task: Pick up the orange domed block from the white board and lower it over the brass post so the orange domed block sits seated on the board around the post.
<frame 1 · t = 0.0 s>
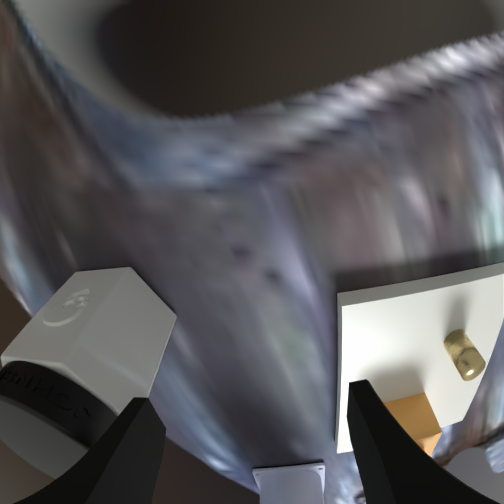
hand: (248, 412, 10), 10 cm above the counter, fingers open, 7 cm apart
jar: (120, 315, 21), on the counter
white board: (417, 369, 23), on the counter
orange domed block: (393, 416, 23), point 1 cm above the counter, touching white board
post: (454, 339, 20), resting on white board
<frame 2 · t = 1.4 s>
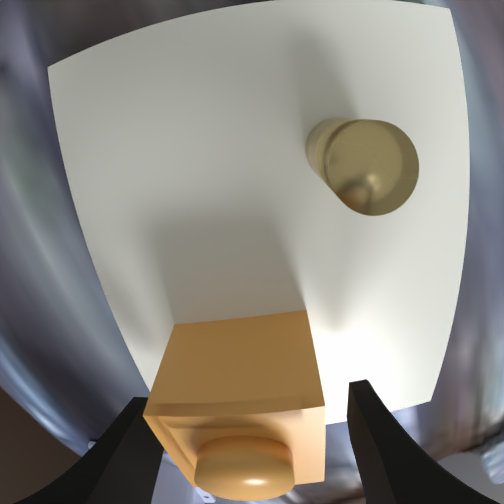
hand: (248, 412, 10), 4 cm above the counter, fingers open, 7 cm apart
white board: (285, 257, 12), on the counter
orange domed block: (249, 366, 13), point 1 cm above the counter, touching white board
post: (337, 149, 9), resting on white board
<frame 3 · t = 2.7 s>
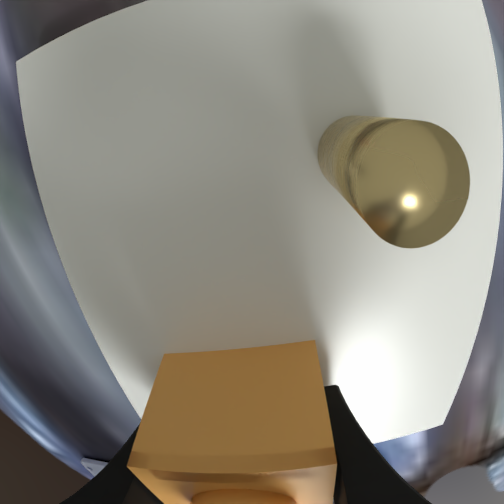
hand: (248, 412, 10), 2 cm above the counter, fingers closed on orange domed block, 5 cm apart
white board: (291, 278, 11), on the counter
orange domed block: (249, 397, 11), point 2 cm above the counter, touching gripper, white board
post: (356, 154, 7), resting on white board
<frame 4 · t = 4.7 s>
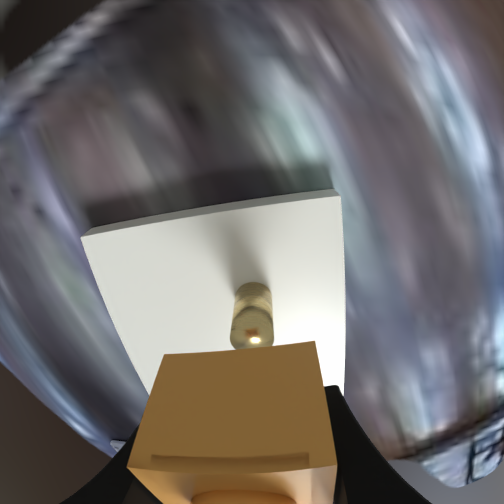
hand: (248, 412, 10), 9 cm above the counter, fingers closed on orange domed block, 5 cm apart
white board: (233, 340, 21), on the counter
orange domed block: (249, 398, 11), point 9 cm above the counter, touching gripper
post: (253, 298, 17), resting on white board
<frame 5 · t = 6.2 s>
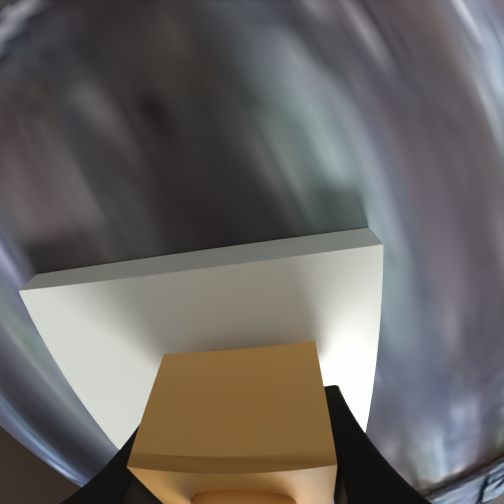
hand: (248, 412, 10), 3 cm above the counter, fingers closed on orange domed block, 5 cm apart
white board: (225, 411, 15), on the counter
orange domed block: (249, 398, 11), point 3 cm above the counter, touching gripper
when the fingers open (3 cm above the counter, at t = 7.2 s): orange domed block drops 1 cm, resting on white board.
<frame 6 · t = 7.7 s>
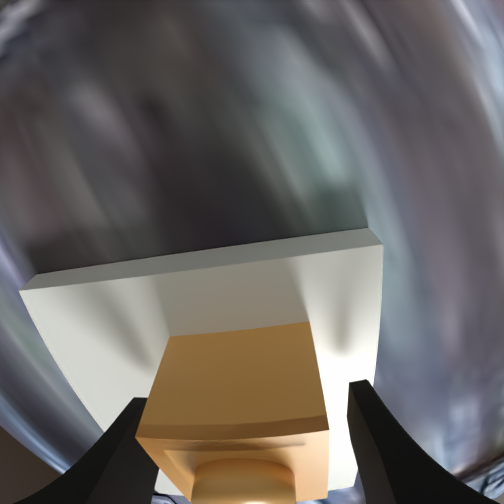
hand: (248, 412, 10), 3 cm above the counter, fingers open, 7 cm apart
white board: (225, 411, 15), on the counter
orange domed block: (249, 379, 12), point 1 cm above the counter, touching white board
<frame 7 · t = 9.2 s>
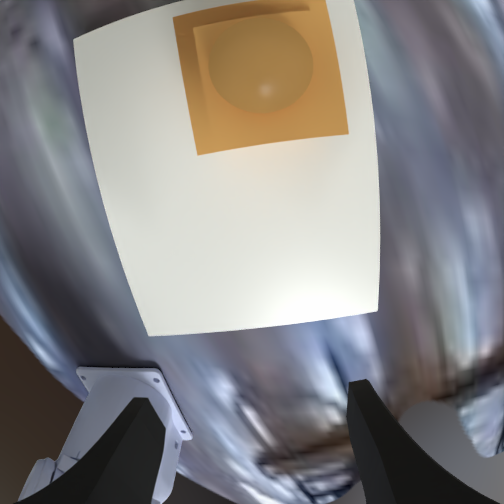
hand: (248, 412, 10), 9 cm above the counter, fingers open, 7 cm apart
white board: (234, 166, 16), on the counter
orange domed block: (261, 82, 13), point 1 cm above the counter, touching white board
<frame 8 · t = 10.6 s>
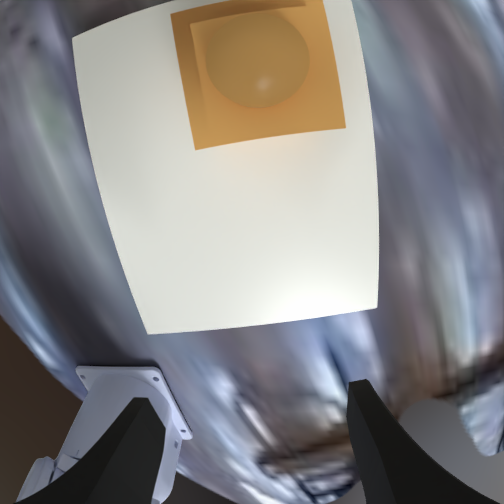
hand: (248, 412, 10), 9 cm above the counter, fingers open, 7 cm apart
white board: (233, 163, 16), on the counter
orange domed block: (258, 78, 13), point 1 cm above the counter, touching white board
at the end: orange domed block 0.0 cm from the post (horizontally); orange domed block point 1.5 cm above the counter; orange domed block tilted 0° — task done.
